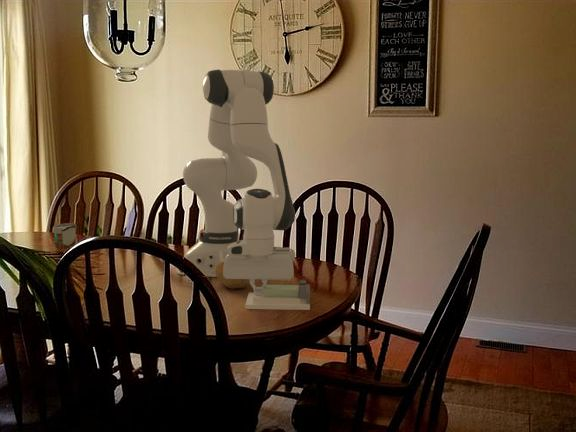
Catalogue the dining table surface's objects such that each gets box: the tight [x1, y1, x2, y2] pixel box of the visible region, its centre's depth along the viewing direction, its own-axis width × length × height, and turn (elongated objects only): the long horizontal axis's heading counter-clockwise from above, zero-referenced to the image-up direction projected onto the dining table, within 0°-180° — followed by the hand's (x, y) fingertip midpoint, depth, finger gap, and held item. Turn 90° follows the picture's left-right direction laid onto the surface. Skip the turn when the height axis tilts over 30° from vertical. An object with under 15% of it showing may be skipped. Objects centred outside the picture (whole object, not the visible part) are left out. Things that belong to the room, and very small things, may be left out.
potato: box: [215, 261, 251, 289], centre depth 190 cm, size 10×14×8 cm
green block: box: [263, 284, 300, 298], centre depth 175 cm, size 10×5×4 cm, turn 88°
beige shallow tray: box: [245, 279, 311, 311], centre depth 175 cm, size 18×12×6 cm, turn 89°
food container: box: [52, 222, 77, 249], centre depth 239 cm, size 12×6×10 cm, turn 172°
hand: (258, 293), depth 175 cm, fingers closed
